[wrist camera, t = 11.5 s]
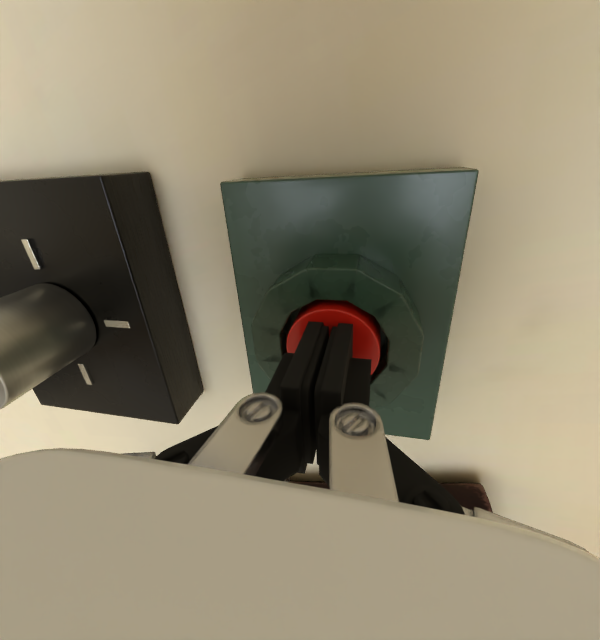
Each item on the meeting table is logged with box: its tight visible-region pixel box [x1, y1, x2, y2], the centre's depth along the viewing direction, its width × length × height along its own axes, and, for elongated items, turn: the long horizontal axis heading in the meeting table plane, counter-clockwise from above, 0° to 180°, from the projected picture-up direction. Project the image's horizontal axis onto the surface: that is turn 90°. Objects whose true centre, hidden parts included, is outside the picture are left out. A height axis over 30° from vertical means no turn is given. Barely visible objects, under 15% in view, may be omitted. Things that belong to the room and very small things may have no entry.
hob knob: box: [0, 283, 96, 409], centre depth 14 cm, size 4×4×5 cm
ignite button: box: [286, 300, 380, 375], centre depth 13 cm, size 4×4×2 cm
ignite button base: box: [220, 167, 478, 440], centre depth 14 cm, size 12×9×4 cm
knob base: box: [0, 172, 203, 424], centre depth 17 cm, size 13×10×3 cm
